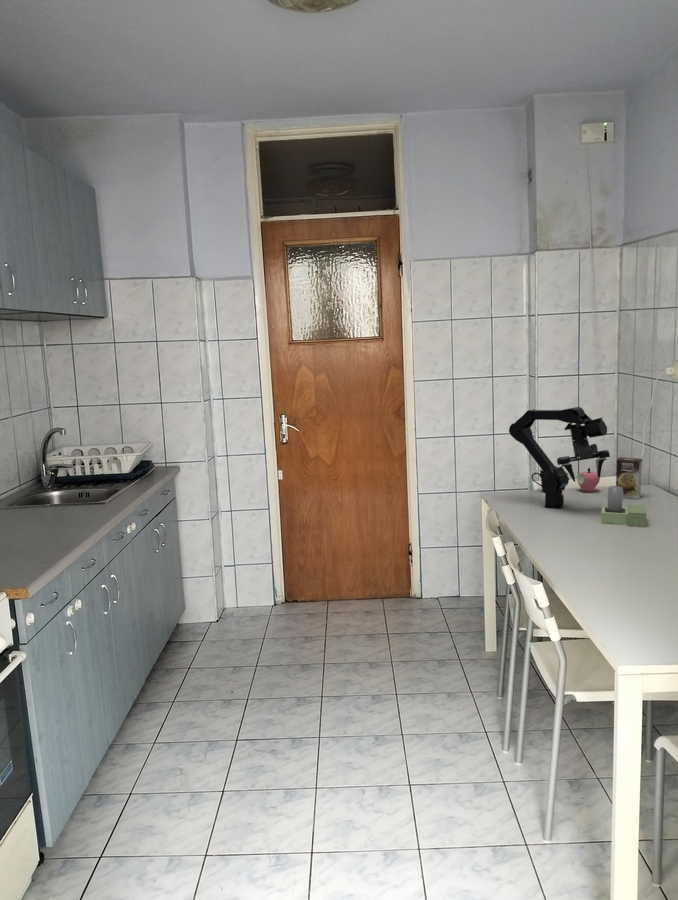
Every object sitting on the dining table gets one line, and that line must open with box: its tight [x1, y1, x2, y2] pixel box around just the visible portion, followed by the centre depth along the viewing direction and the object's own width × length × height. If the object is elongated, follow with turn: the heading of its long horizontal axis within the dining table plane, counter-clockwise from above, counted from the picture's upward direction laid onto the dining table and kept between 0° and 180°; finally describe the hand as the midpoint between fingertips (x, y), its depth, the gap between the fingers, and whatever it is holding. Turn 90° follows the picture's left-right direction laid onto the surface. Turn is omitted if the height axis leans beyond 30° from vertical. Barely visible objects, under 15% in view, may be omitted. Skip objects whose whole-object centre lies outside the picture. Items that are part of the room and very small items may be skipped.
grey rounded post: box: [607, 485, 623, 513], centre depth 269 cm, size 5×5×12 cm
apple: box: [576, 467, 601, 493], centre depth 316 cm, size 10×9×10 cm
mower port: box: [600, 504, 647, 528], centre depth 269 cm, size 15×12×5 cm
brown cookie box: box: [615, 456, 643, 500], centre depth 303 cm, size 9×6×16 cm
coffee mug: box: [531, 468, 547, 491], centre depth 318 cm, size 12×9×10 cm
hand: (586, 479), depth 281 cm, fingers open, 9 cm apart
